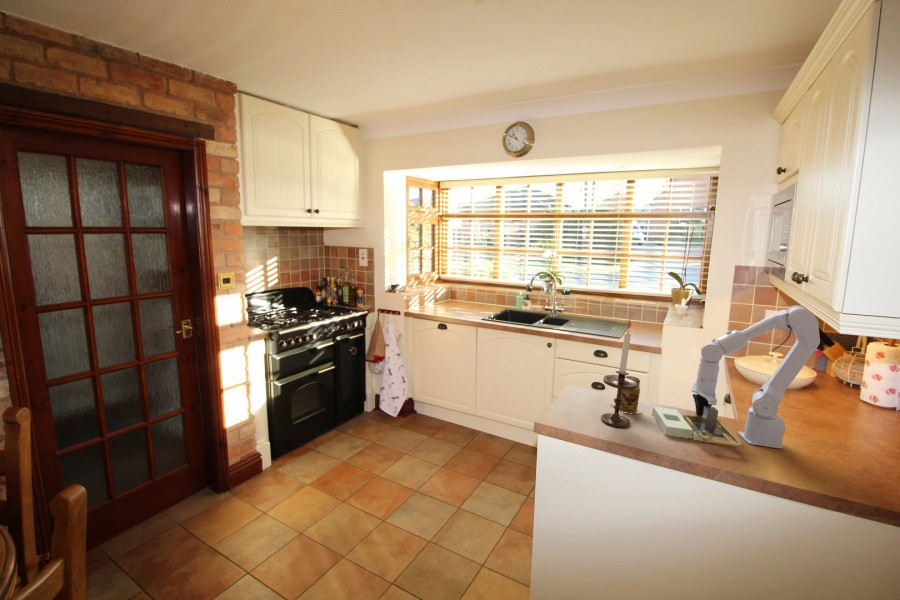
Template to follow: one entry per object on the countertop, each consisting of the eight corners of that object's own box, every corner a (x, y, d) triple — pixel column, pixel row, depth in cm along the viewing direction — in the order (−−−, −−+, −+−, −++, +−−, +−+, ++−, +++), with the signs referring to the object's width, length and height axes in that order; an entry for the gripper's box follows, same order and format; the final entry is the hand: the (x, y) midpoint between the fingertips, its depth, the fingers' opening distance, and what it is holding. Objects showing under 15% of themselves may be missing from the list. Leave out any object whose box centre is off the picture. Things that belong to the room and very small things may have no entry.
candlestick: (603, 411, 150) (616, 314, 145) (635, 421, 145) (651, 319, 139) (594, 422, 142) (607, 318, 136) (628, 432, 136) (644, 324, 130)
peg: (715, 431, 141) (719, 405, 140) (725, 442, 133) (730, 415, 132) (688, 427, 143) (693, 401, 141) (697, 438, 135) (702, 411, 133)
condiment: (625, 414, 150) (630, 382, 148) (610, 404, 157) (614, 373, 155) (642, 413, 152) (647, 381, 150) (626, 403, 160) (631, 372, 158)
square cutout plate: (675, 417, 150) (676, 409, 149) (691, 438, 134) (692, 430, 134) (651, 414, 151) (653, 406, 151) (665, 435, 136) (666, 426, 135)
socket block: (718, 429, 142) (719, 423, 142) (733, 445, 132) (734, 438, 131) (682, 424, 144) (683, 418, 144) (694, 440, 134) (695, 432, 133)
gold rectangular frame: (718, 424, 142) (719, 418, 142) (743, 450, 125) (744, 443, 125) (683, 419, 144) (683, 413, 144) (702, 444, 127) (703, 437, 127)
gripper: (686, 370, 150) (680, 406, 152) (702, 384, 136) (695, 424, 138) (708, 372, 148) (702, 409, 151) (726, 387, 134) (719, 427, 137)
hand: (700, 417), depth 144 cm, fingers closed
